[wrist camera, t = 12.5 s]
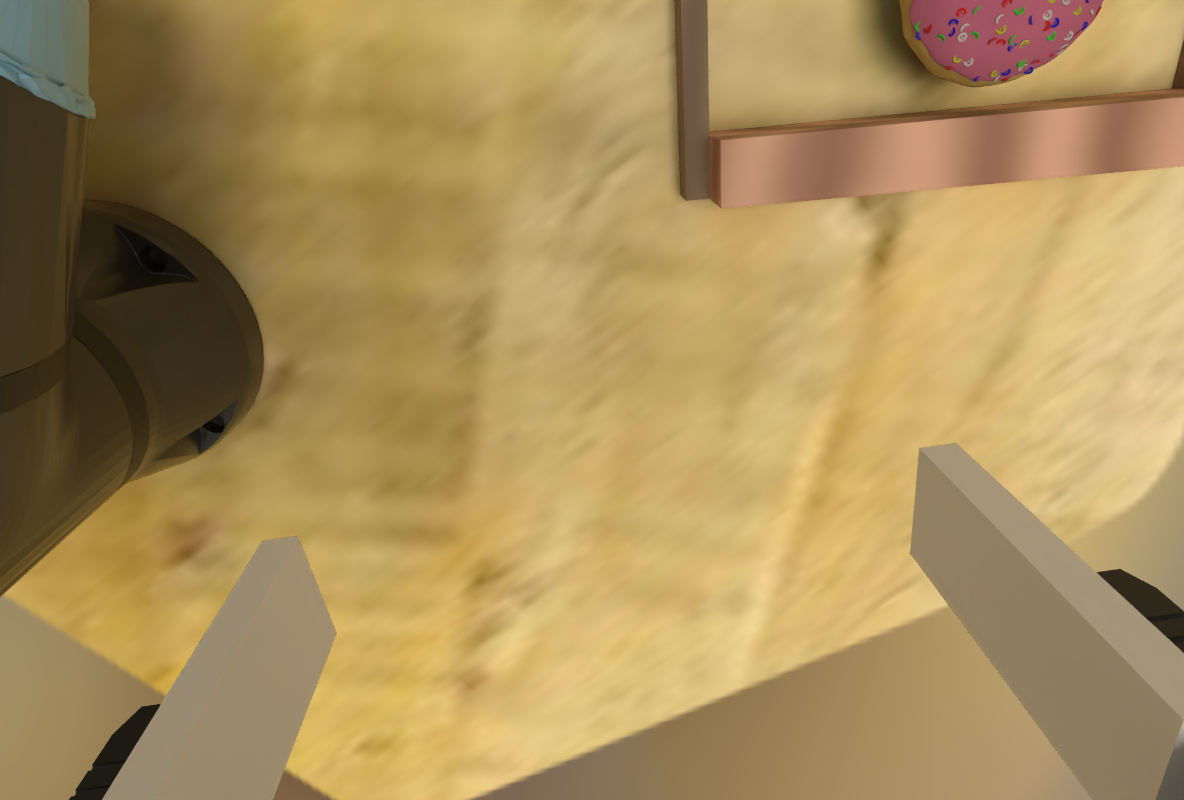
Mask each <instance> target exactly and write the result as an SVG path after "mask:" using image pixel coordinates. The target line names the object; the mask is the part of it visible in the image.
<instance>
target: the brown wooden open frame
mask: <svg viewBox="0 0 1184 800" xmlns="http://www.w3.org/2000/svg"><path fill="white" fill-rule="evenodd" d="M675 24H676V57H677V91H678V124H679V157H680V190H681V196H682V197H683V198H684V199H685V200H686V201H688V200H699V199H711V200H712V201H713V202H714V203H715V204H717V205H718V206H719V207H720V208H721V209H722V208H733V207H744V206H755V205H765V204H776V203H787V202H798V201H809V200H820V199H831V198H842V197H853V196H864V195H874V194H885V193H896V192H907V191H918V190H929V189H940V188H951V187H962V186H973V185H983V184H994V183H1005V182H1016V181H1027V180H1038V179H1049V178H1060V177H1071V176H1082V175H1092V174H1103V173H1114V172H1125V171H1136V170H1147V169H1158V168H1169V167H1180V166H1184V44H1183V48H1182V52H1181V56H1180V60H1179V64H1178V68H1177V72H1176V76H1175V80H1174V84H1173V88H1172V89H1164V90H1153V91H1142V92H1131V93H1121V94H1110V95H1099V96H1089V97H1078V98H1067V99H1057V100H1046V101H1035V102H1025V103H1014V104H1003V105H992V106H982V107H971V108H960V109H950V110H939V111H928V112H918V113H907V114H896V115H886V116H875V117H864V118H853V119H843V120H832V121H821V122H811V123H800V124H789V125H779V126H768V127H757V128H747V129H736V130H725V131H714V132H709V99H708V20H707V0H675Z"/></svg>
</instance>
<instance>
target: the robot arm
mask: <svg viewBox="0 0 1184 800" xmlns="http://www.w3.org/2000/svg"><path fill="white" fill-rule="evenodd" d="M95 117H96V106H95V102H94V101H93V100H92V99H91V98H90V96H89V1H88V0H0V597H1V596H2V595H3V594H4V593H5V592H6V591H7V590H9V589H10V588H11V587H12V586H13V585H14V584H15V583H16V582H17V581H18V580H20V579H21V578H22V577H23V576H24V575H25V574H26V573H27V572H28V571H29V570H31V569H32V568H33V567H34V566H35V565H36V564H37V563H38V562H39V561H40V560H42V559H43V558H44V557H45V556H46V555H47V554H48V553H49V552H50V551H51V550H53V549H54V548H55V547H56V546H57V545H58V544H59V543H60V542H61V541H62V540H64V539H65V538H66V537H67V536H68V535H69V534H70V533H71V532H72V531H73V530H75V529H76V528H77V527H78V526H79V525H80V524H81V523H82V522H83V521H84V520H86V519H87V518H88V517H89V516H90V515H91V514H92V513H93V512H94V511H95V510H97V509H98V508H99V507H100V506H101V505H102V504H103V503H104V502H105V501H106V500H108V499H109V498H110V497H111V496H112V495H113V494H114V493H115V492H116V491H117V490H118V489H119V488H121V487H122V486H123V485H124V484H125V483H128V482H131V481H134V480H137V479H139V478H142V477H145V476H148V475H151V474H153V473H156V472H159V471H162V470H165V469H167V468H170V467H173V466H176V465H179V464H181V463H184V462H187V461H189V460H192V459H194V458H196V457H198V456H199V455H201V454H203V453H205V452H206V451H208V450H209V449H211V448H212V447H214V446H215V445H216V444H217V443H219V442H220V441H221V440H222V439H223V438H224V437H225V436H226V435H227V434H228V433H229V432H230V431H231V430H232V429H233V428H234V427H235V426H236V425H237V424H238V423H239V422H240V421H241V420H242V418H243V417H244V416H245V415H246V413H247V412H248V411H249V409H250V407H251V406H252V404H253V402H254V400H255V398H256V395H257V393H258V390H259V387H260V382H261V378H262V371H263V350H262V342H261V336H260V332H259V328H258V325H257V322H256V319H255V316H254V314H253V311H252V309H251V307H250V305H249V303H248V301H247V299H246V297H245V295H244V294H243V292H242V290H241V289H240V287H239V286H238V284H237V283H236V281H235V280H234V278H233V277H232V276H231V275H230V273H229V272H228V271H227V269H226V268H225V267H224V266H223V265H222V264H221V263H220V262H219V261H218V260H217V259H216V258H215V257H214V256H213V255H212V254H211V253H210V252H209V251H208V250H207V249H206V248H205V247H204V246H202V245H201V244H200V243H199V242H197V241H196V240H195V239H194V238H192V237H191V236H189V235H188V234H186V233H185V232H184V231H182V230H180V229H179V228H177V227H175V226H174V225H172V224H170V223H168V222H166V221H165V220H163V219H161V218H158V217H156V216H154V215H152V214H149V213H147V212H144V211H141V210H138V209H135V208H132V207H129V206H125V205H120V204H116V203H110V202H103V201H85V200H83V193H84V180H85V168H86V155H87V143H88V130H89V119H95ZM910 554H911V555H912V556H913V558H914V559H915V560H916V562H917V563H918V565H919V566H920V567H921V569H922V570H923V571H924V573H925V574H926V575H927V577H928V578H929V579H930V581H931V582H932V583H933V585H934V586H935V587H936V589H937V590H938V592H939V593H940V594H941V596H942V597H943V598H944V600H945V601H946V602H947V604H948V605H949V606H950V608H951V609H952V610H953V612H954V613H955V615H956V616H957V617H958V619H959V620H960V621H961V623H962V624H963V625H964V627H965V628H966V629H967V631H968V632H969V633H970V635H971V636H972V637H973V639H974V640H975V642H976V643H977V644H978V646H979V647H980V648H981V649H982V651H983V652H984V654H985V655H986V656H987V658H988V659H989V660H990V662H991V663H992V664H993V666H994V667H995V669H996V670H997V671H998V673H999V674H1000V675H1001V677H1002V678H1003V679H1004V681H1005V682H1006V683H1007V685H1008V686H1009V687H1010V689H1011V690H1012V691H1013V693H1014V694H1015V695H1016V697H1017V698H1018V700H1019V701H1020V702H1021V704H1022V705H1023V706H1024V708H1025V709H1026V710H1027V712H1028V713H1029V714H1030V716H1031V717H1032V718H1033V720H1034V721H1035V722H1036V724H1037V725H1038V727H1039V728H1040V729H1041V731H1042V732H1043V733H1044V735H1045V736H1046V737H1047V739H1048V740H1049V741H1050V743H1051V744H1052V746H1053V747H1054V748H1055V750H1056V751H1057V752H1058V754H1059V755H1060V756H1061V758H1062V759H1063V760H1064V762H1065V763H1066V764H1067V766H1068V767H1069V768H1070V770H1071V771H1072V772H1073V774H1074V775H1075V776H1076V778H1077V779H1078V781H1079V782H1080V783H1081V785H1082V786H1083V787H1084V789H1085V790H1086V791H1087V793H1088V794H1089V795H1090V797H1091V798H1092V799H1093V800H1184V611H1183V610H1182V609H1180V608H1179V607H1178V606H1177V605H1176V604H1175V603H1173V602H1172V601H1171V600H1170V599H1169V598H1168V597H1166V596H1165V595H1164V594H1163V593H1162V592H1161V591H1159V590H1158V589H1157V588H1155V587H1153V586H1151V585H1150V584H1148V583H1146V582H1144V581H1142V580H1140V579H1138V578H1136V577H1134V576H1132V575H1131V574H1129V573H1127V572H1124V571H1123V570H1121V569H1117V570H1110V571H1103V572H1095V571H1094V570H1093V569H1092V568H1091V567H1090V566H1089V565H1088V564H1087V563H1086V562H1084V561H1083V560H1082V559H1081V558H1080V557H1079V556H1078V555H1077V554H1076V553H1074V551H1073V550H1071V549H1070V548H1069V547H1068V546H1067V545H1066V544H1065V543H1064V542H1063V541H1062V540H1061V539H1060V538H1058V537H1057V536H1056V535H1055V534H1054V533H1053V532H1052V531H1051V530H1050V529H1049V528H1048V527H1047V526H1045V525H1044V524H1043V523H1042V522H1041V521H1040V520H1039V519H1038V518H1037V517H1036V516H1035V515H1034V514H1032V513H1031V512H1030V511H1029V510H1028V509H1027V508H1026V507H1025V506H1024V505H1023V504H1022V503H1021V502H1019V501H1018V500H1017V499H1016V498H1015V497H1014V496H1013V495H1012V494H1011V493H1010V492H1009V491H1008V490H1006V489H1005V488H1004V487H1003V486H1002V485H1001V484H1000V483H999V482H998V481H997V480H996V479H995V478H993V477H992V476H991V475H990V474H989V473H988V472H987V471H986V470H985V469H984V468H983V467H982V466H980V465H979V464H978V463H977V462H976V461H975V460H974V459H973V458H972V457H971V456H970V455H969V454H967V453H966V452H965V451H964V450H963V449H962V448H961V447H960V446H959V445H958V444H957V443H952V444H945V445H937V446H930V447H923V448H919V457H918V469H917V480H916V492H915V503H914V514H913V526H912V537H911V549H910ZM336 634H337V633H336V630H335V628H334V625H333V623H332V620H331V618H330V615H329V613H328V610H327V608H326V605H325V603H324V600H323V598H322V595H321V593H320V590H319V587H318V585H317V582H316V580H315V577H314V575H313V572H312V570H311V567H310V565H309V562H308V560H307V557H306V555H305V552H304V550H303V547H302V545H301V542H300V540H299V537H298V536H294V537H287V538H280V539H273V540H266V541H262V542H261V544H260V545H259V547H258V549H257V550H256V552H255V553H254V555H253V557H252V558H251V560H250V562H249V563H248V565H247V566H246V568H245V570H244V571H243V573H242V574H241V576H240V578H239V579H238V581H237V583H236V584H235V586H234V587H233V589H232V591H231V592H230V594H229V595H228V597H227V599H226V600H225V602H224V604H223V605H222V607H221V608H220V610H219V612H218V613H217V615H216V616H215V618H214V620H213V621H212V623H211V625H210V626H209V628H208V629H207V631H206V633H205V634H204V636H203V637H202V639H201V641H200V642H199V644H198V646H197V647H196V649H195V650H194V652H193V654H192V655H191V657H190V658H189V660H188V662H187V663H186V665H185V667H184V668H183V670H182V671H181V673H180V675H179V676H178V678H177V679H176V681H175V683H174V684H173V686H172V688H171V689H170V691H169V692H168V694H167V696H166V697H165V699H164V700H163V702H162V704H157V705H150V706H143V707H141V708H140V709H139V710H138V711H137V712H136V713H135V714H134V715H132V716H131V717H130V719H128V720H127V721H126V722H125V723H124V724H123V725H122V726H121V727H120V728H119V729H118V730H117V731H116V732H115V733H114V734H113V735H112V736H111V738H110V739H109V741H108V742H107V744H106V745H105V747H104V748H103V750H102V751H101V753H100V754H99V756H98V757H97V759H96V760H95V762H94V763H93V768H92V770H91V771H88V772H87V774H86V775H85V777H84V778H83V780H82V781H81V783H80V784H79V786H78V787H77V789H76V795H75V796H73V797H71V798H70V799H69V800H273V797H274V795H275V792H276V789H277V786H278V784H279V781H280V779H281V776H282V774H283V771H284V769H285V766H286V764H287V761H288V758H289V756H290V753H291V751H292V748H293V745H294V743H295V740H296V738H297V735H298V732H299V730H300V727H301V725H302V722H303V719H304V717H305V714H306V712H307V709H308V706H309V704H310V701H311V699H312V696H313V693H314V691H315V688H316V686H317V683H318V680H319V678H320V675H321V673H322V670H323V667H324V665H325V662H326V660H327V657H328V654H329V652H330V649H331V647H332V644H333V642H334V639H335V636H336Z"/></svg>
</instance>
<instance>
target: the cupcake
mask: <svg viewBox="0 0 1184 800" xmlns="http://www.w3.org/2000/svg"><path fill="white" fill-rule="evenodd" d="M899 1H900V9H901V15H902V30H903V35H904V38H905V40H906V42H907V43H908V44H909V46H910V47H911V49H912V50H913V51H914V53H915V54H916V55H917V57H918V58H919V59H920V61H921V62H922V63H923V65H924V66H925V68H926V69H927V70H928V71H929V72H930V73H931V74H933V75H935V76H937V77H939V78H942V79H945V80H948V81H952V82H955V83H957V84H960V85H964V86H969V87H983V86H991V85H997V84H1002V83H1006V82H1009V81H1012V80H1015V79H1017V78H1019V77H1021V76H1023V75H1025V74H1030V73H1032V72H1033V70H1034V69H1036V68H1038V67H1040V66H1042V65H1044V64H1046V63H1048V62H1049V61H1051V60H1052V59H1054V58H1055V57H1057V56H1058V55H1059V54H1060V53H1062V52H1063V51H1064V50H1065V49H1066V48H1067V47H1068V46H1070V45H1071V44H1072V43H1073V42H1074V41H1075V39H1076V38H1077V37H1078V36H1079V35H1080V34H1081V33H1082V32H1083V31H1084V30H1085V29H1086V28H1087V27H1088V26H1089V25H1090V24H1091V23H1092V22H1093V20H1094V19H1095V18H1096V16H1097V14H1098V12H1099V11H1100V9H1101V5H1102V2H1103V0H899Z"/></svg>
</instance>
